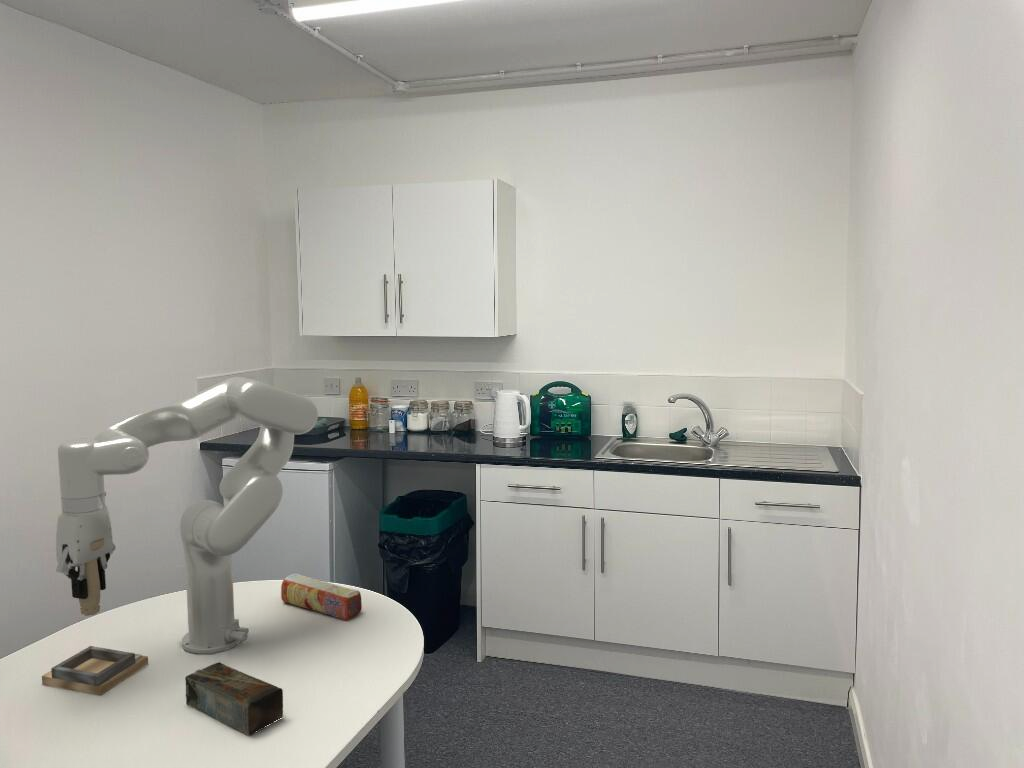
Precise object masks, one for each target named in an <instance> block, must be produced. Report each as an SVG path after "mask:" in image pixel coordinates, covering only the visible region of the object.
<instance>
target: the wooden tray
mask: <svg viewBox="0 0 1024 768" xmlns="http://www.w3.org/2000/svg"><path fill="white" fill-rule="evenodd" d="M146 665H147V666H148V665H149V656H147V655H142V654H138V653H135V652H129V651H123V650H117V649H111V648H106V647H105V648H104V647H98V646H92V645H90V646H88V647H85V649H82V650H80V651H79V652H78V653H77V652H76V654H74V655H73V656H69V658H67V659H64V660H63V661H61V662H60V663H58V664H56V665H55V666H53V667H51V668H50V669H51V670H50V671H48V672H46V673H44V674H43V675H41V685H43V686H49V687H51V688H52V687H53V688H58V689H63V690H64V689H65V690H67V691H68V690H69V691H73V692H80V693H84V694H91V695H96V696H103V695H104V694H105V693H107V692H108V691H110V690H112V689H113V688H115V687H116V686H118V685H119V684H121V683H122V682H124V681H125V680H127V679H128V678H130V677H131V676H133V675H135V674H136V673H138V672H140V671H141V670H143V669H144V668H145V667H147V666H146Z"/></svg>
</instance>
